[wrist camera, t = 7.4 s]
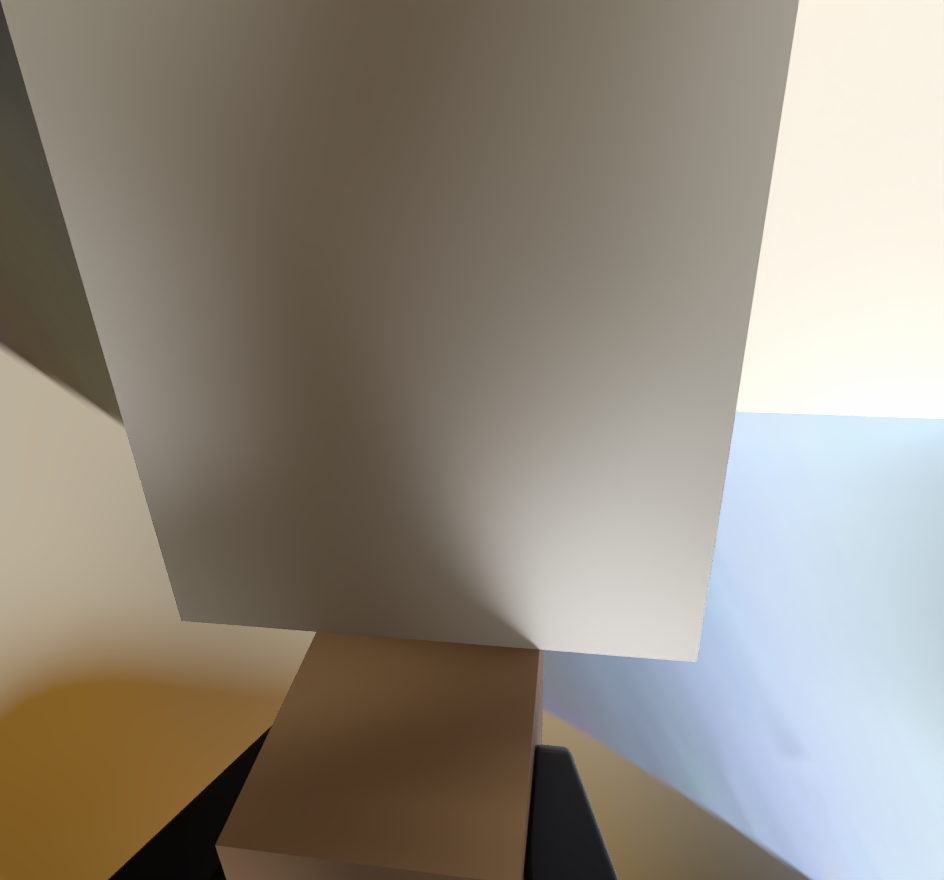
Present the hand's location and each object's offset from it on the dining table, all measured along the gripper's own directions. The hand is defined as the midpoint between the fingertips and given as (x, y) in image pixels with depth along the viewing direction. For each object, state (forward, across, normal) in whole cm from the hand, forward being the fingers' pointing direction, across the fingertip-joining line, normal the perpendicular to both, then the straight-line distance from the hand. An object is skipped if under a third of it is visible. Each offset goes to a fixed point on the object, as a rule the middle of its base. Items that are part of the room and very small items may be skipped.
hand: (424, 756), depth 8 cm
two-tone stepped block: (+2, 0, -1) cm, 2 cm away
